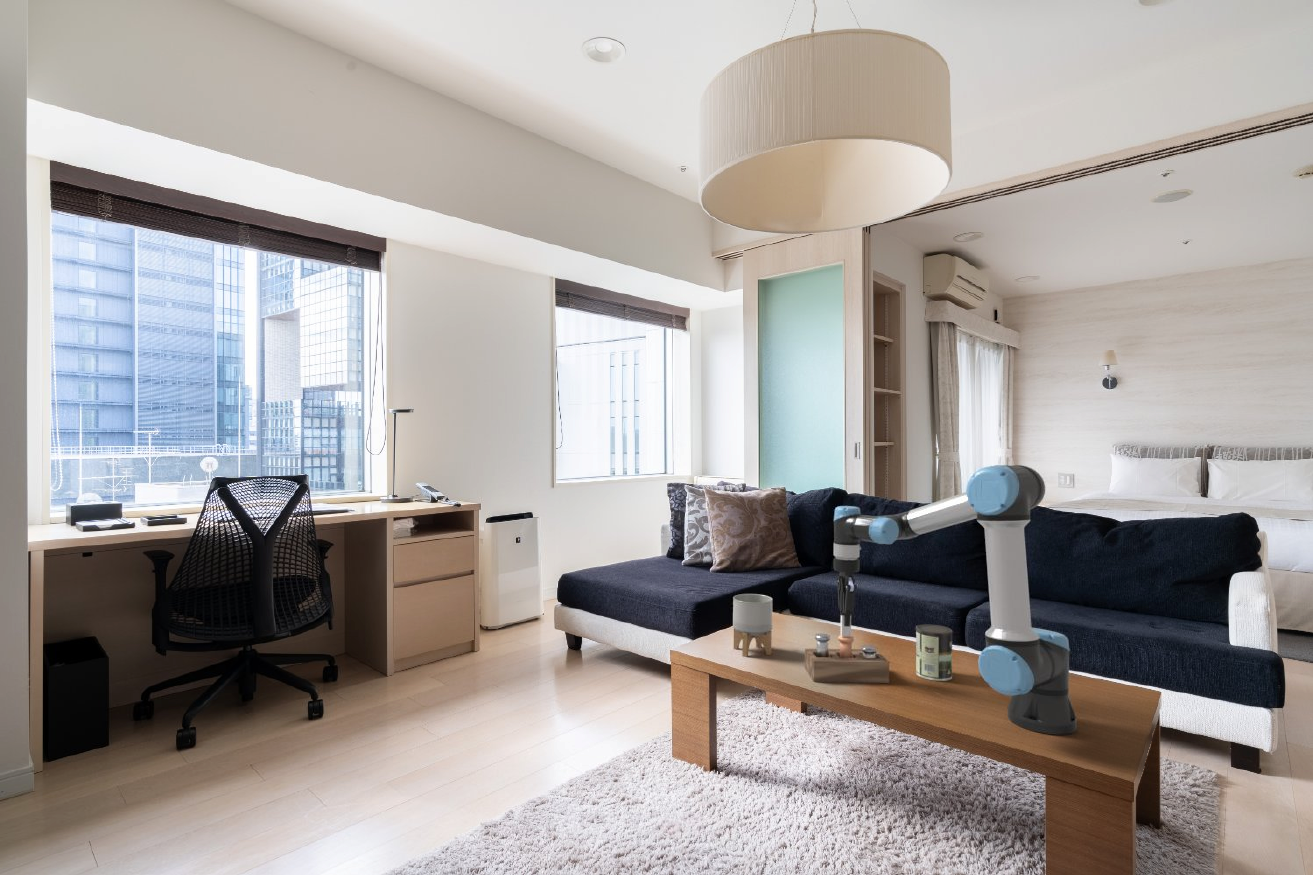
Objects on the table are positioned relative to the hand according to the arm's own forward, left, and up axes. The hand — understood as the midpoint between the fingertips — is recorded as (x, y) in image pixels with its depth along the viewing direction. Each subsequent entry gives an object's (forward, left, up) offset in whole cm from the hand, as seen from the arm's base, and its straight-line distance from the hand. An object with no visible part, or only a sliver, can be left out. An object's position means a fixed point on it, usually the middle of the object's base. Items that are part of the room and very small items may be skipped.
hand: (845, 635), depth 202 cm
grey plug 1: (0, +7, -7) cm, 10 cm away
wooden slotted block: (0, 0, -12) cm, 12 cm away
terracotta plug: (0, 0, -8) cm, 8 cm away
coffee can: (+1, -27, -12) cm, 29 cm away
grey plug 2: (0, -7, -11) cm, 13 cm away
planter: (+22, +25, -12) cm, 35 cm away
